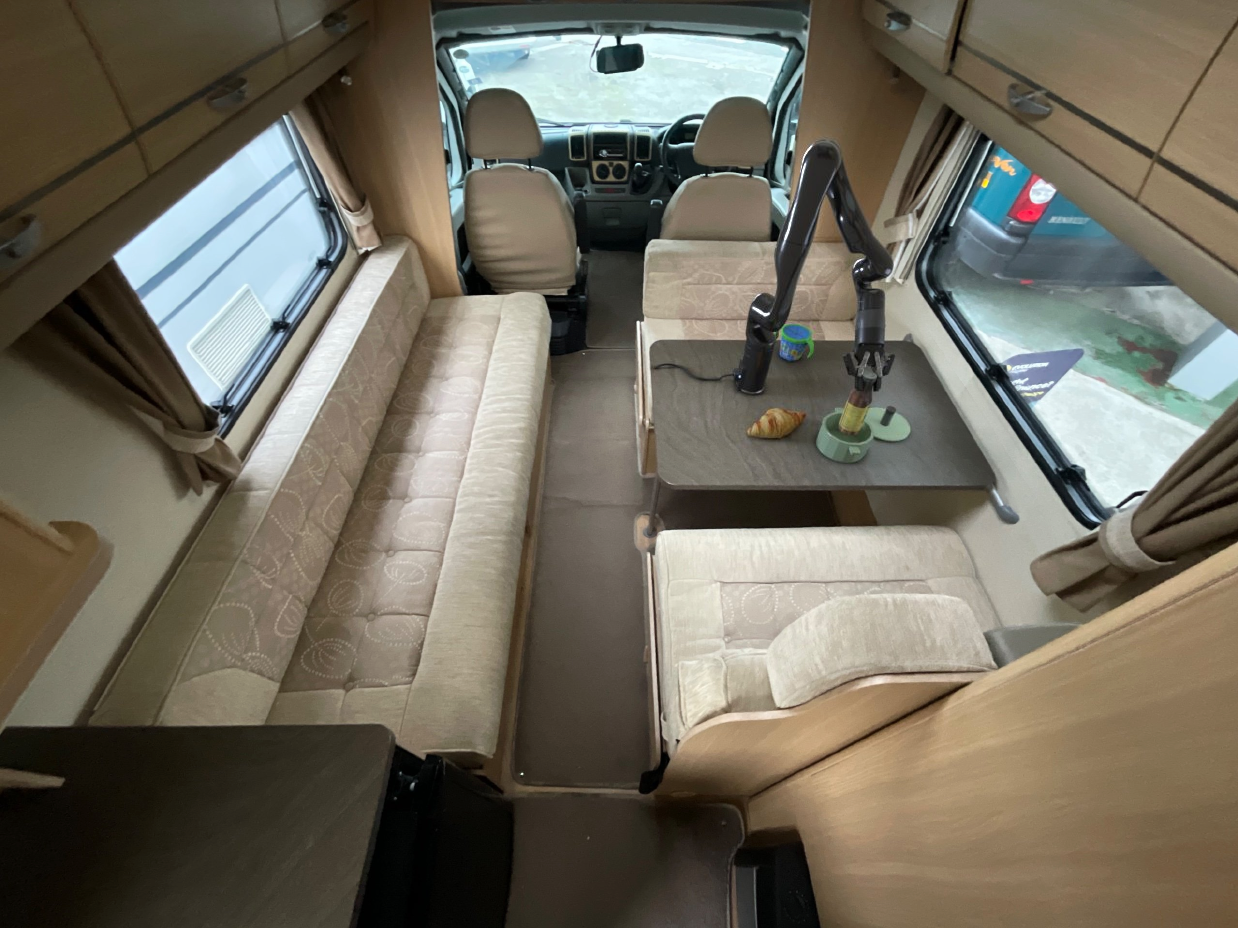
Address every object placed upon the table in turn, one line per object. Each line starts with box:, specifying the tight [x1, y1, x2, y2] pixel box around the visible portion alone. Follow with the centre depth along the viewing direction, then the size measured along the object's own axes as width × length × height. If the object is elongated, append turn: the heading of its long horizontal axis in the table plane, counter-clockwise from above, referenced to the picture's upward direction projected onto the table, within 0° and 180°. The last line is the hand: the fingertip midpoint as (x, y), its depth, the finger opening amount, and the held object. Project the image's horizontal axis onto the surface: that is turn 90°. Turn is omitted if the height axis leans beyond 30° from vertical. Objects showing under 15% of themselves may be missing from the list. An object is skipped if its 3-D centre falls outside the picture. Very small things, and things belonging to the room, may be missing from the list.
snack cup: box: [774, 323, 815, 362], centre depth 200 cm, size 16×10×10 cm
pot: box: [815, 407, 874, 464], centre depth 168 cm, size 15×20×8 cm
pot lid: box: [865, 405, 911, 442], centre depth 175 cm, size 16×16×7 cm
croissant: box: [746, 407, 807, 439], centre depth 173 cm, size 21×10×8 cm
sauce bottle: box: [839, 369, 877, 435], centre depth 159 cm, size 6×6×20 cm
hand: (867, 391), depth 153 cm, fingers closed on sauce bottle, 4 cm apart
